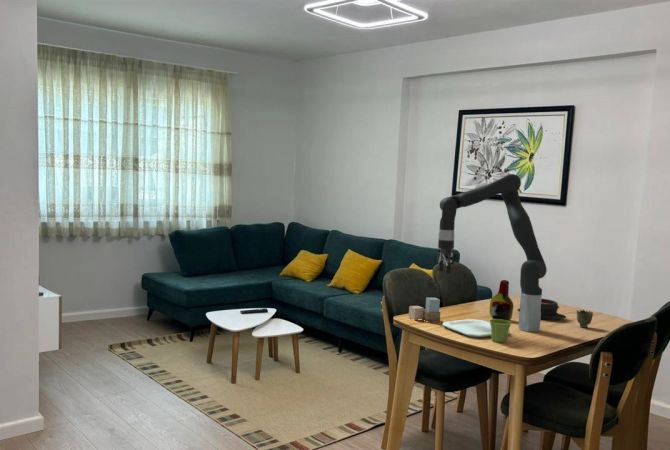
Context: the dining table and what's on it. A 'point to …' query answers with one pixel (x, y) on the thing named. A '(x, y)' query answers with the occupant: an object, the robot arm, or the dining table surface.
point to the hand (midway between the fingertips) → (444, 272)
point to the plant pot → (499, 330)
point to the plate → (470, 327)
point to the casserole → (549, 310)
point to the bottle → (502, 303)
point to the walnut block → (431, 316)
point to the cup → (584, 318)
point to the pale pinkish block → (416, 312)
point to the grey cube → (432, 304)
